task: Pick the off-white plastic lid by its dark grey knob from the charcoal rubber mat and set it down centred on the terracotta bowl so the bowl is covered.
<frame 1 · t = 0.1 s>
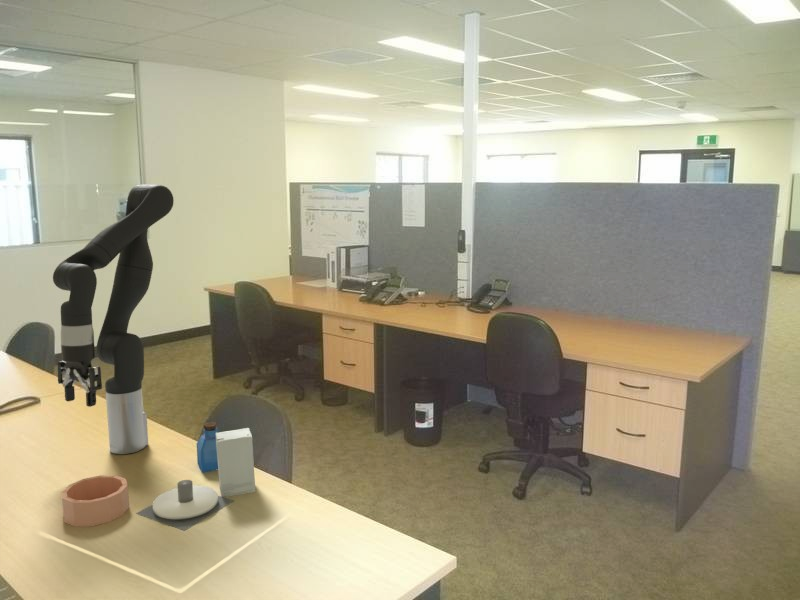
hand: (80, 403, 161), 17 cm above the table, tool pointing down, fingers open, 8 cm apart
mat: (186, 509, 142), on the table
skincare box: (236, 492, 151), on the table
lid: (186, 506, 142), point 1 cm above the table, touching mat
bowl: (96, 513, 140), on the table
perfume bottle: (212, 468, 164), on the table
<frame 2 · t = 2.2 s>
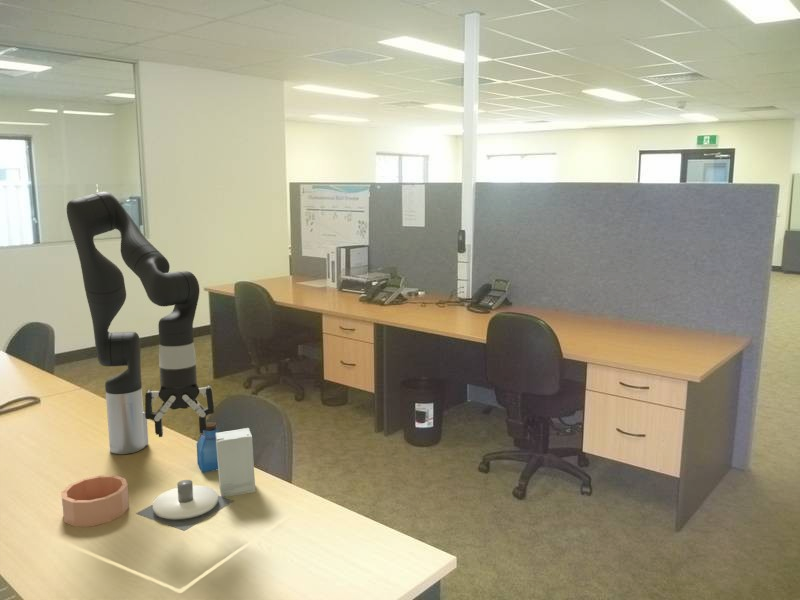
hand: (181, 433, 139), 18 cm above the table, tool pointing down, fingers open, 8 cm apart
nothing on the table moved.
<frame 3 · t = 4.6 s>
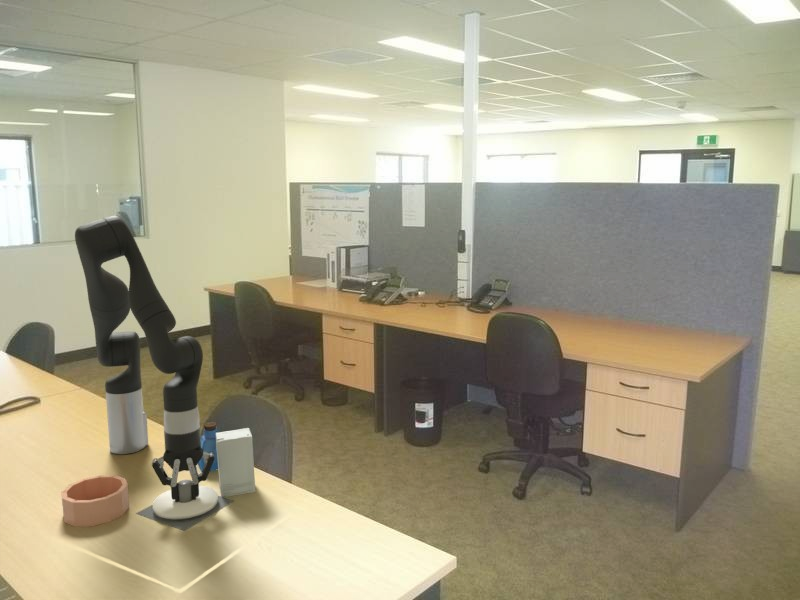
hand: (185, 498, 142), 3 cm above the table, tool pointing down, fingers closed on lid, 3 cm apart
lid: (186, 506, 142), point 1 cm above the table, touching gripper, mat
everything else where it was.
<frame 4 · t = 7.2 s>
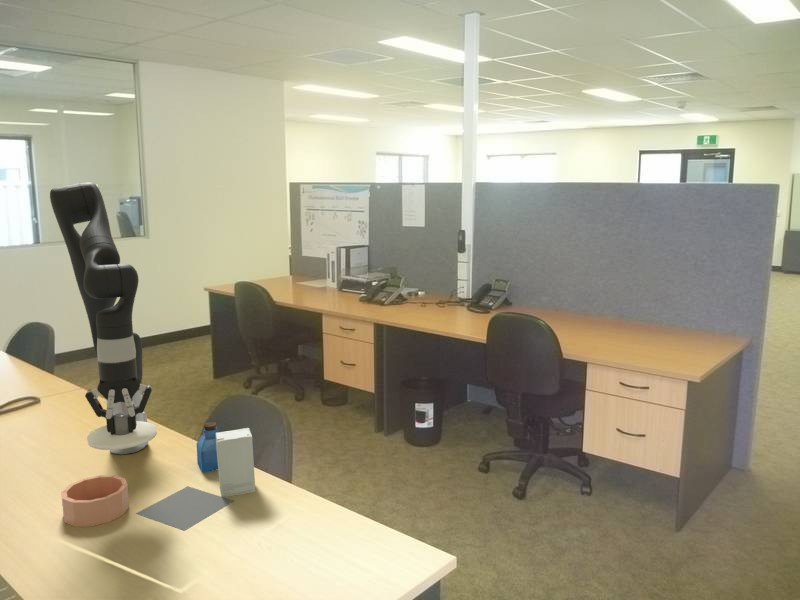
hand: (122, 431, 138), 19 cm above the table, tool pointing down, fingers closed on lid, 3 cm apart
lid: (123, 440, 138), point 17 cm above the table, touching gripper
everything else where it was.
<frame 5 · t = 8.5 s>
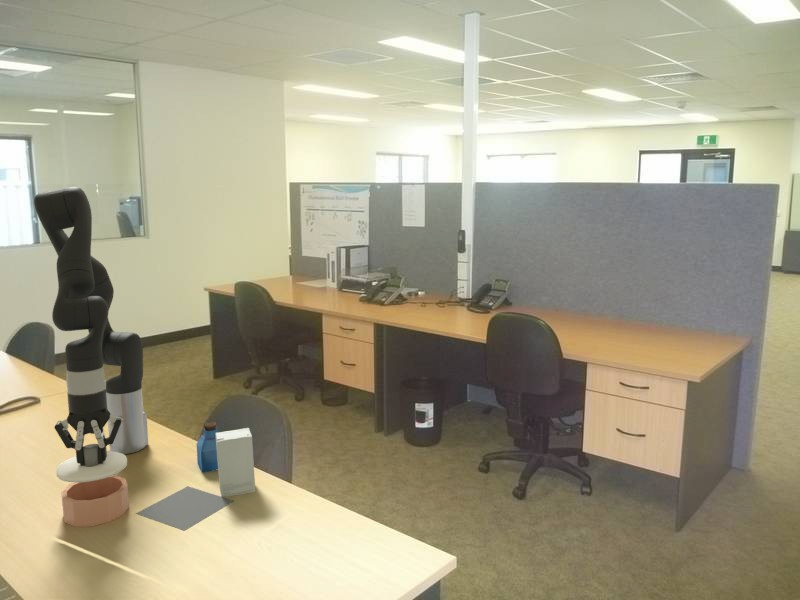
hand: (92, 463, 138), 12 cm above the table, tool pointing down, fingers closed on lid, 3 cm apart
lid: (92, 471, 138), point 10 cm above the table, touching gripper
everything else where it was.
when the fingers open (8 cm above the table, at t = 9.5 s): lid drops 1 cm, resting on bowl.
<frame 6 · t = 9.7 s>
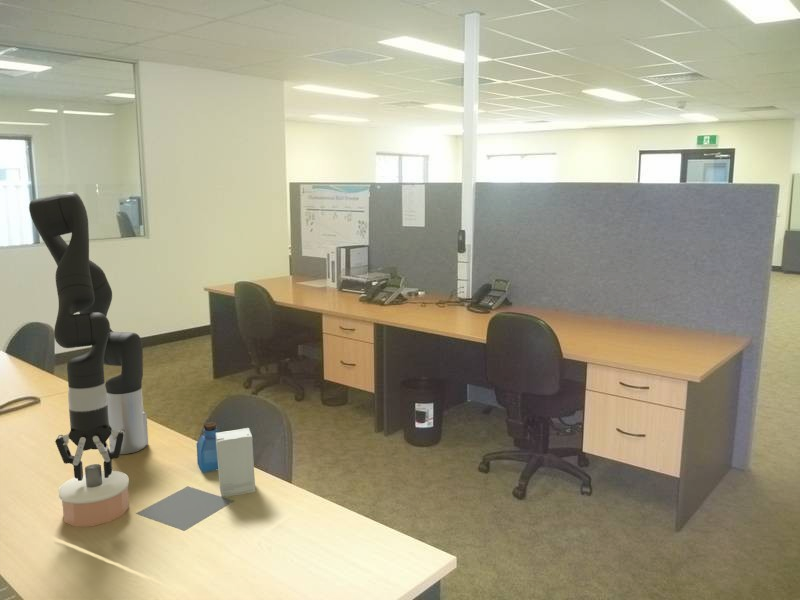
hand: (94, 477, 138), 9 cm above the table, tool pointing down, fingers open, 4 cm apart
lid: (94, 491, 139), point 5 cm above the table, touching bowl
everything else where it was.
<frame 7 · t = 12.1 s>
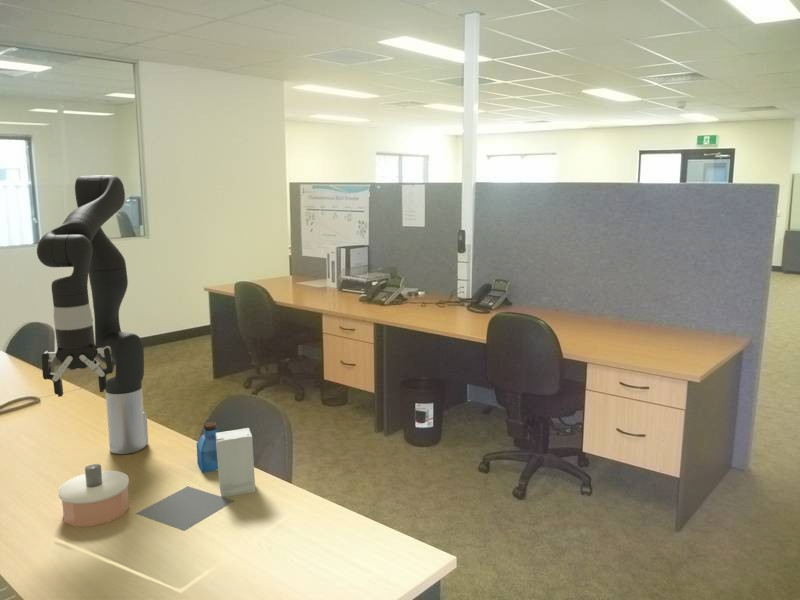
hand: (81, 393, 143), 26 cm above the table, tool pointing down, fingers open, 8 cm apart
nothing on the table moved.
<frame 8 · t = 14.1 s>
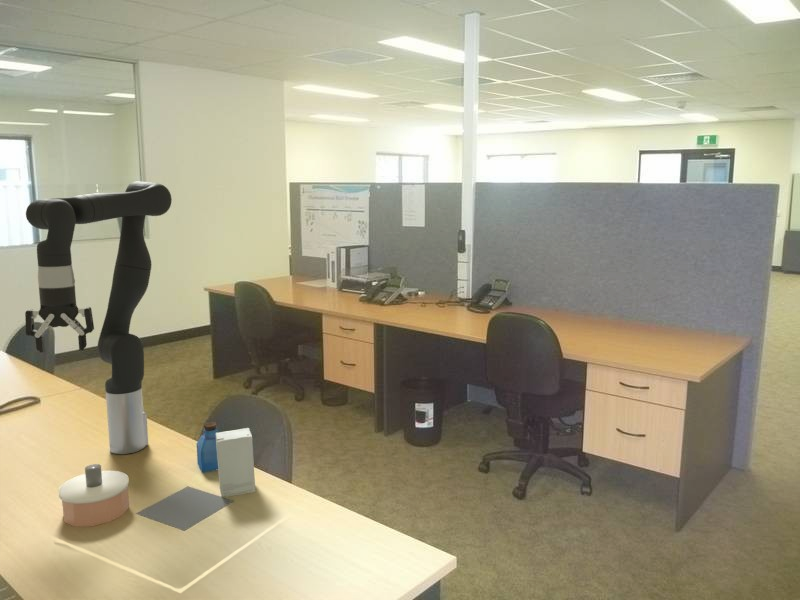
hand: (62, 351, 151), 33 cm above the table, tool pointing down, fingers open, 8 cm apart
nothing on the table moved.
at the end: lid 0.1 cm off-centre on the bowl, point 5.2 cm above the bowl's base; lid tilted 0°; the gripper is holding nothing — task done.
